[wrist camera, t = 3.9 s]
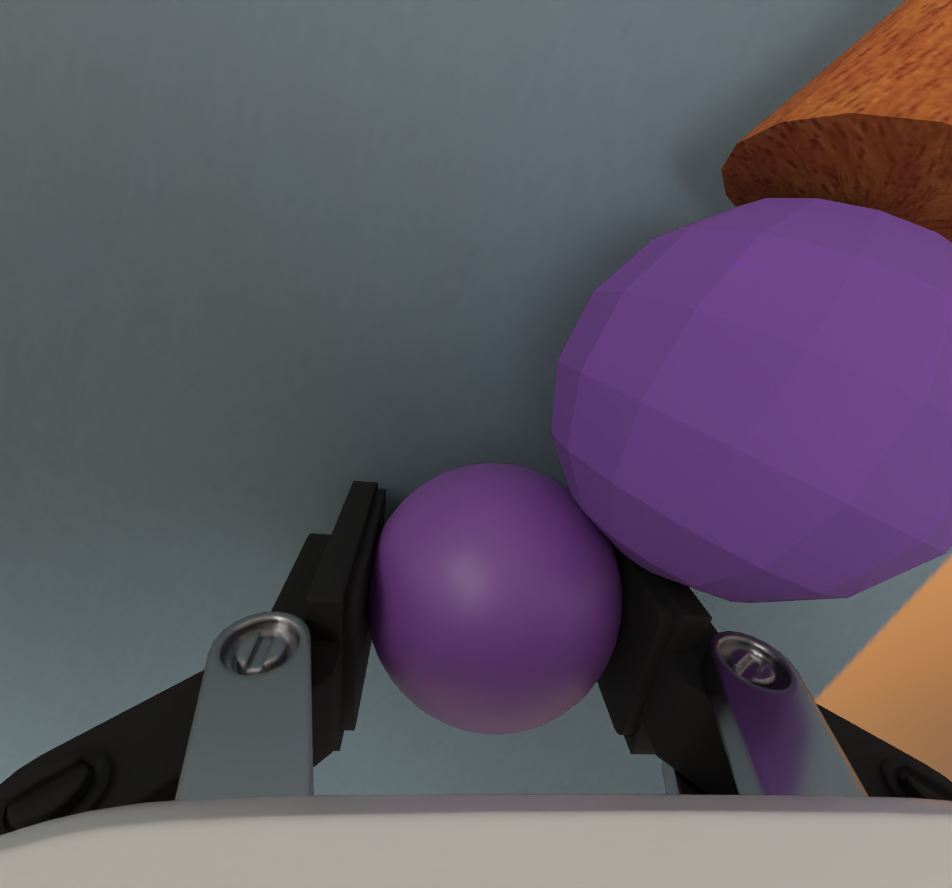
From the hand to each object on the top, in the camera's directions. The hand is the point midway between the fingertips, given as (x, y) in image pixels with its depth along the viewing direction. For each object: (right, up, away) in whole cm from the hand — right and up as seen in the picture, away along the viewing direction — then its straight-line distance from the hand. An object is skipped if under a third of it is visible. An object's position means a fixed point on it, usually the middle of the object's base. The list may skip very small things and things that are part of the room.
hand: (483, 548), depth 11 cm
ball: (0, 0, -2) cm, 2 cm away
